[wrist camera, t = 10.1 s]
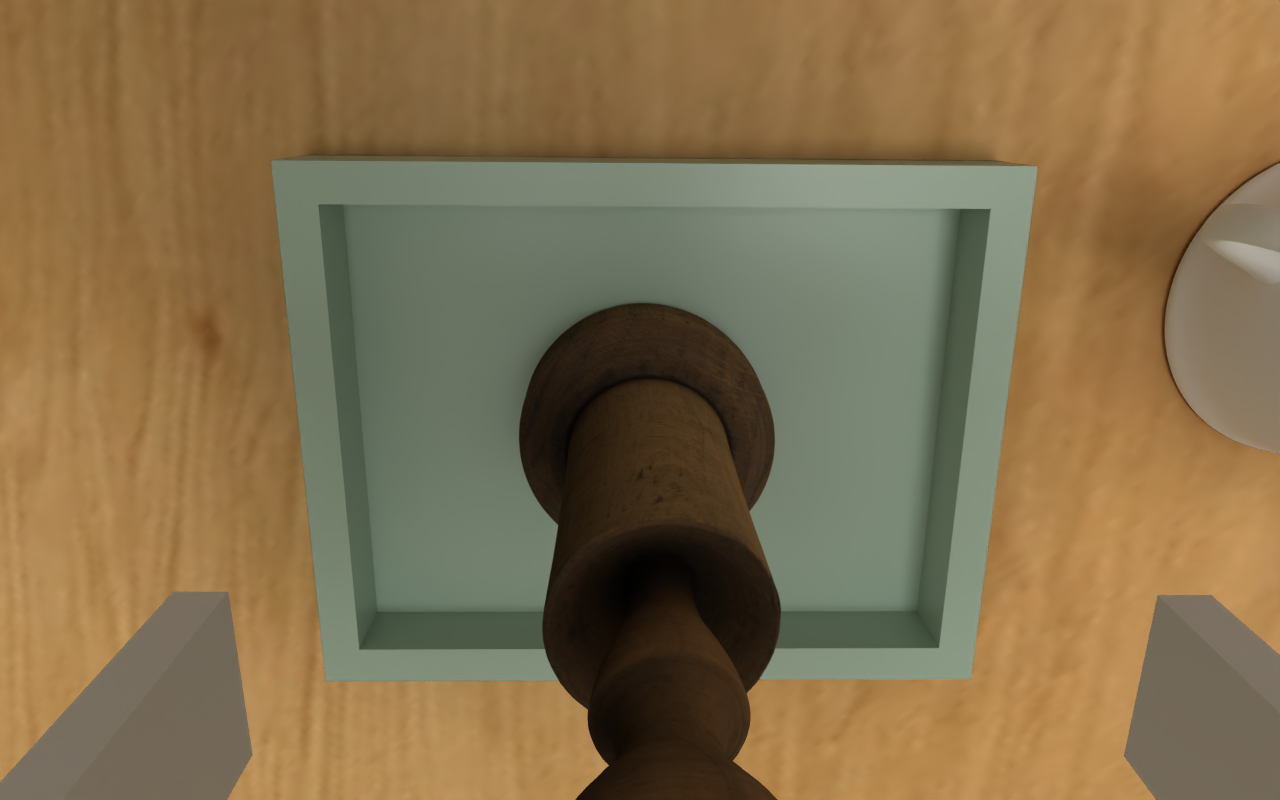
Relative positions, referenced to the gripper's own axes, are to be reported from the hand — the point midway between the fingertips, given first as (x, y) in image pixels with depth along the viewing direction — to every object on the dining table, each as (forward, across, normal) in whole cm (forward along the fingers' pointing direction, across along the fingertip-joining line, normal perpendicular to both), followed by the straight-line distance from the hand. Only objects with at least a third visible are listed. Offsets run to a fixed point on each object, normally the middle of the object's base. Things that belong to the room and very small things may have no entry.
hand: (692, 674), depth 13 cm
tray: (+14, 0, -1) cm, 14 cm away
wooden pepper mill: (+13, 0, -1) cm, 13 cm away
